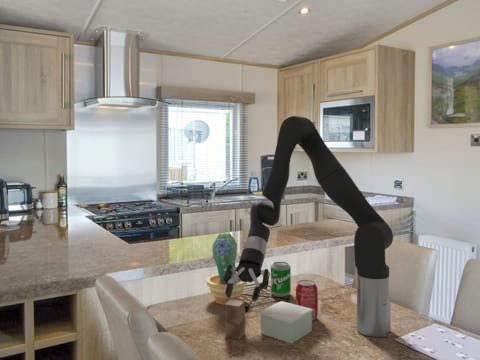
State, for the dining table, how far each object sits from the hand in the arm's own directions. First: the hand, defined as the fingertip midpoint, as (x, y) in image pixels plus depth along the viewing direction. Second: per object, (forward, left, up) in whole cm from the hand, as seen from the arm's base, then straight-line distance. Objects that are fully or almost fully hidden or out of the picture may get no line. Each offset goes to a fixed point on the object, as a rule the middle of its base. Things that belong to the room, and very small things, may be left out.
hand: (240, 298), depth 132 cm
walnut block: (-1, +5, -10) cm, 11 cm away
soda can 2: (-14, -18, -10) cm, 25 cm away
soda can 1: (+4, -35, -10) cm, 37 cm away
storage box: (-13, -5, -10) cm, 17 cm away
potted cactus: (+18, -19, -10) cm, 28 cm away
